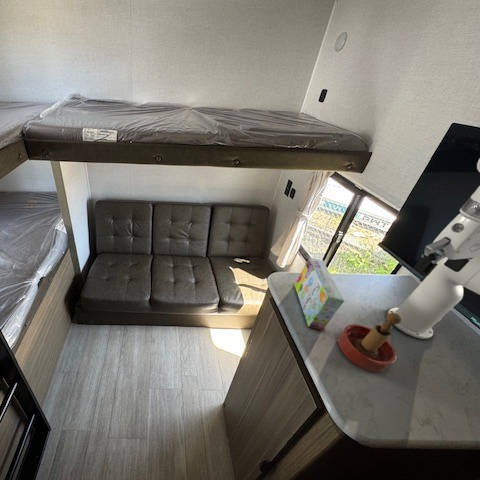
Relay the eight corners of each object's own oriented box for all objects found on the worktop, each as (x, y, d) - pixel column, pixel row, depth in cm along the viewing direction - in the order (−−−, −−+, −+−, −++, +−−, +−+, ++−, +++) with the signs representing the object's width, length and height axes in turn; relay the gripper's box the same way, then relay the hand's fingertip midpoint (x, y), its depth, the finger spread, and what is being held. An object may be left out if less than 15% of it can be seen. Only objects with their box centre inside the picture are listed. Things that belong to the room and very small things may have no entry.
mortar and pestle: (380, 361, 77) (418, 325, 67) (361, 362, 76) (396, 325, 66) (364, 342, 83) (397, 305, 72) (346, 342, 82) (376, 305, 72)
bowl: (361, 331, 87) (369, 322, 84) (397, 369, 76) (407, 360, 73) (327, 336, 84) (334, 326, 82) (360, 376, 74) (369, 367, 71)
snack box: (324, 331, 86) (345, 301, 77) (307, 327, 87) (326, 297, 78) (307, 287, 103) (323, 258, 95) (293, 284, 104) (307, 256, 95)
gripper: (477, 222, 50) (422, 284, 60) (541, 217, 53) (479, 277, 62) (437, 205, 56) (393, 264, 66) (497, 201, 59) (446, 257, 68)
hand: (435, 270), depth 64 cm, fingers open, 9 cm apart
